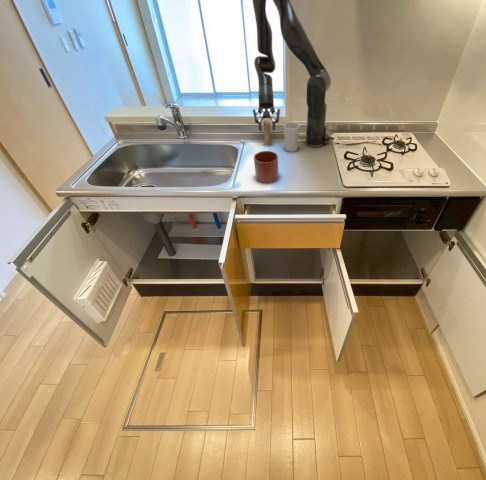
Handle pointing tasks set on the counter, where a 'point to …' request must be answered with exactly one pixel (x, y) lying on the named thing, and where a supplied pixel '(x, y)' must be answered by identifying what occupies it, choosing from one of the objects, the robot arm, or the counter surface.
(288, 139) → the cup
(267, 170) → the crock
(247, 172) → the counter surface
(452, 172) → the counter surface
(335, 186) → the counter surface
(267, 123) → the utensil
